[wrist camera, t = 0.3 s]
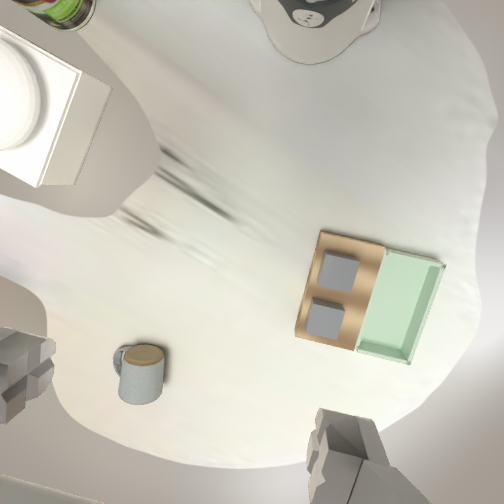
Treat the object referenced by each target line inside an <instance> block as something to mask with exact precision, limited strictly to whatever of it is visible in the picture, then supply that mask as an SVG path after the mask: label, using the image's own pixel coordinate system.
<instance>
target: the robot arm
mask: <svg viewBox="0 0 504 504" xmlns="http://www.w3.org/2000/svg"><path fill="white" fill-rule="evenodd" d="M249 1H250V5H251V7H252V9H253V10H254V11H255V12H256V13H257V14H258V16H259V17H260V18H261V19H262V21H263V23H264V25H265V28H266V31H267V34H268V36H269V38H270V40H271V42H272V43H273V45H274V46H275V47H276V49H277V50H278V51H279V52H280V53H281V54H283V55H284V56H285V57H287V58H289V59H291V60H293V61H295V62H298V63H303V64H317V63H321V62H325V61H328V60H330V59H332V58H334V57H336V56H337V55H339V54H340V53H341V52H343V51H344V50H345V49H346V48H347V47H348V46H349V45H350V44H351V43H352V42H353V41H354V40H355V39H356V38H357V37H359V36H361V35H363V34H365V33H367V32H369V31H371V30H373V29H374V28H375V27H376V26H377V24H378V22H379V18H380V9H381V0H249ZM372 8H373V10H374V11H373V12H371V9H372ZM55 351H56V342H55V341H54V340H53V339H50V338H47V337H43V336H39V335H36V334H32V333H29V332H25V331H21V330H18V329H14V328H10V327H1V328H0V423H1V424H7V423H8V422H9V421H10V420H11V419H13V418H14V417H15V416H16V415H17V414H18V413H20V412H21V411H22V410H23V409H24V408H25V406H26V401H28V400H31V399H34V398H37V397H38V396H39V395H41V394H42V393H43V392H44V391H45V390H46V388H47V387H48V385H49V383H50V382H51V380H52V377H53V374H54V364H53V362H52V360H51V358H50V357H51V356H52V355H54V354H55ZM315 423H316V430H314V431H313V432H311V435H310V439H309V443H308V450H307V470H308V471H309V473H310V474H311V477H310V480H309V483H308V488H309V500H310V504H432V503H431V502H430V501H429V500H428V499H427V498H426V497H425V496H424V495H423V494H422V493H421V492H420V491H419V490H418V489H417V488H416V487H415V486H414V485H413V484H412V483H411V482H410V481H409V480H408V479H407V478H406V477H405V476H404V475H402V473H401V472H400V471H399V470H398V469H397V468H395V467H391V466H390V463H389V461H388V458H387V456H386V453H385V450H384V447H383V445H382V442H381V439H380V437H379V434H378V431H377V429H376V426H375V423H374V421H373V420H372V419H367V418H363V417H358V416H352V415H348V414H343V413H339V412H335V411H331V410H327V409H323V408H319V410H318V412H317V415H316V418H315ZM0 504H106V503H102V502H99V501H95V500H92V499H88V498H85V497H81V496H78V495H74V494H70V493H67V492H63V491H60V490H56V489H53V488H49V487H46V486H42V485H38V484H35V483H32V482H28V481H24V480H21V479H17V478H14V477H10V476H7V475H3V474H0Z"/></svg>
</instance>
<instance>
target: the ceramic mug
mask: <svg viewBox="0 0 504 504" xmlns="http://www.w3.org/2000/svg"><path fill="white" fill-rule="evenodd" d="M122 351H125V354H124V357H123V360H122V365H121V361H120V360H121V354H122ZM164 363H165V359H164V353H163V351H162V350H161V349H160V348H158V347H156V346H153V345H137V346H134V347H131V348H130V347H122V348H120V349H118V350H117V351H116V352H115V353H114V357H113V365H114V369H115V371H116V373H117V374H118V376H119V377H120V383H119V390H118V393H119V396H120V398H121V399H122V400H123V401H124V402H126V403H129V404H133V405H144V404H148V403H151V402H153V401H155V400H156V399H158V398H159V396H160V395H161V393H162V388H163V375H164Z"/></svg>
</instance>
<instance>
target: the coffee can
mask: <svg viewBox="0 0 504 504" xmlns="http://www.w3.org/2000/svg"><path fill="white" fill-rule="evenodd" d="M13 1H15V2H16V3H17V4H19V5H20V6H22V7H23V8H25V9H26V10H28V11H29V12H31V13H32V14H34V15H35V16H36V17H38V18H40V19H41V20H42V21H44V22H45V23H47V24H48V25H49V26H51V27H52V28H54V29H56V30H58V31H62V32H72V31H76V30H78V29H80V28H82V27H83V26H84V25H85V24H86V23H87V22H88V21H89V19H90V18H91V16H92V14H93V12H94V8H95V4H96V0H13Z"/></svg>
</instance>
